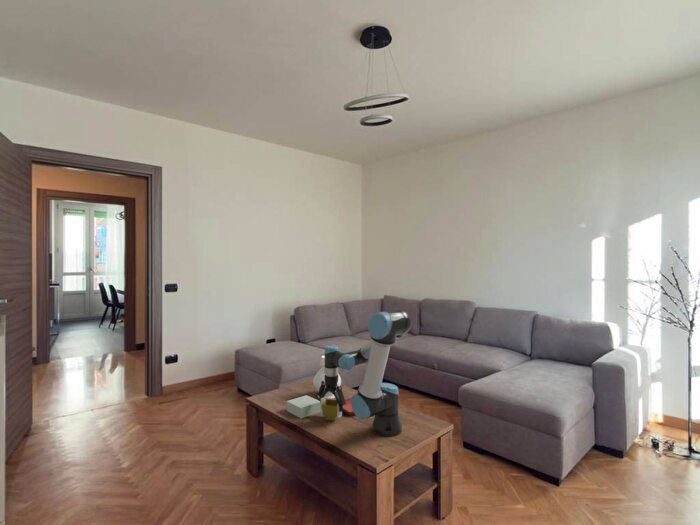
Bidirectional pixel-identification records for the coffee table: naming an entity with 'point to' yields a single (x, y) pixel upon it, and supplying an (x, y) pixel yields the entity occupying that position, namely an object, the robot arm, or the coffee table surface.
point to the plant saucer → (348, 407)
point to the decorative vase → (320, 377)
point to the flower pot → (330, 409)
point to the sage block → (303, 406)
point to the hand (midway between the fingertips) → (331, 413)
